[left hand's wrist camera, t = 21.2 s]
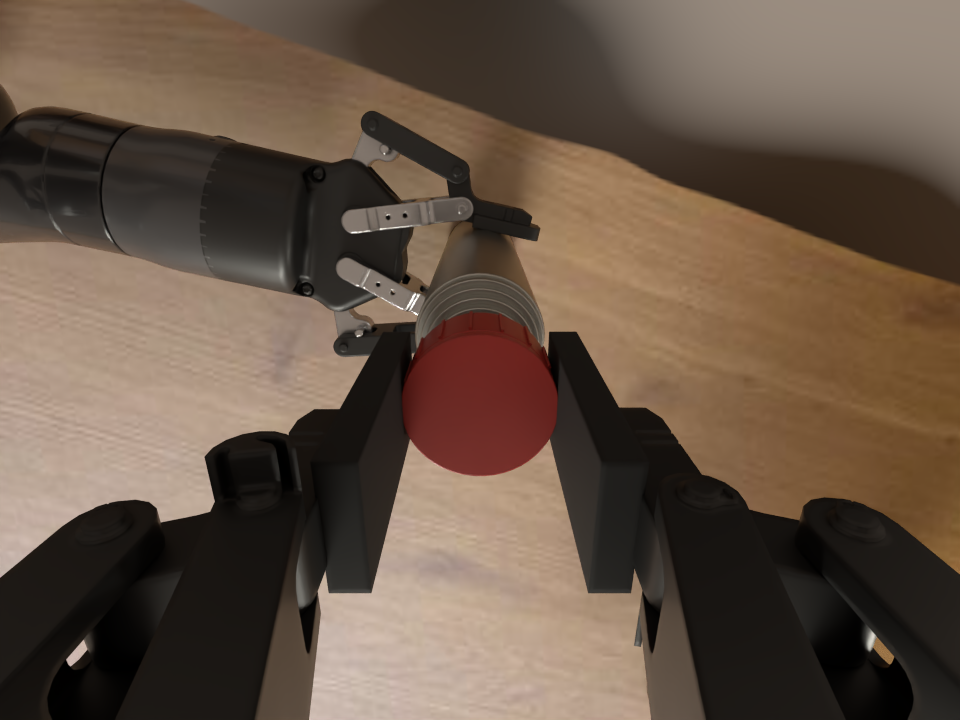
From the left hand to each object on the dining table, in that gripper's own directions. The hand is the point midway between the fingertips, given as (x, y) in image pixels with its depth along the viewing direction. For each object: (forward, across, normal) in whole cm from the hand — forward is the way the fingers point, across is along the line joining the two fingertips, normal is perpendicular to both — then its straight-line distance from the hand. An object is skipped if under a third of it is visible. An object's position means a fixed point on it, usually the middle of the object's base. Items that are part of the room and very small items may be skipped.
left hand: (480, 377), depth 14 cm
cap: (-2, 0, 0) cm, 2 cm away
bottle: (+22, 0, 0) cm, 22 cm away
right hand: (+16, -3, +1) cm, 16 cm away
